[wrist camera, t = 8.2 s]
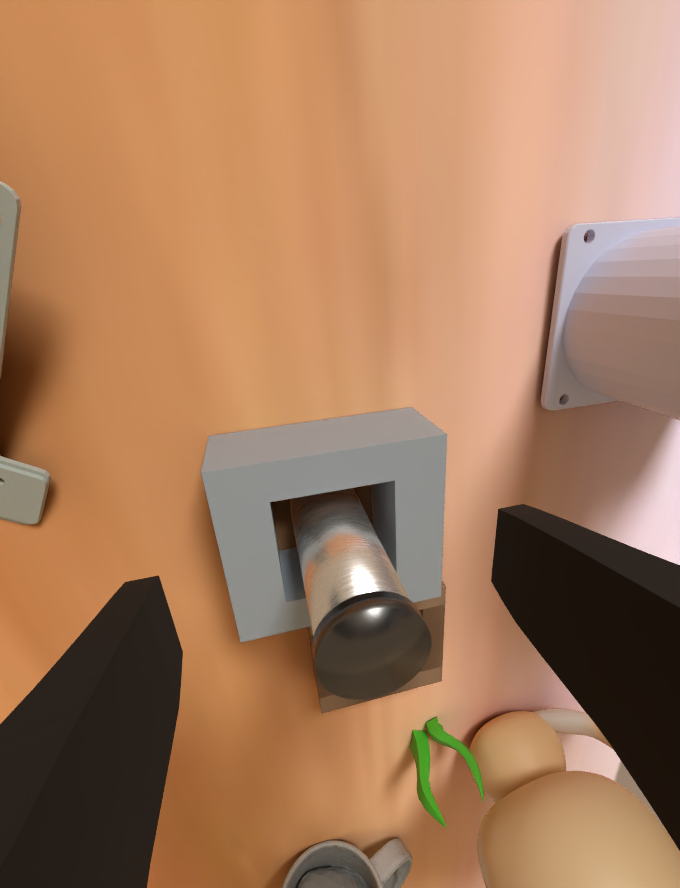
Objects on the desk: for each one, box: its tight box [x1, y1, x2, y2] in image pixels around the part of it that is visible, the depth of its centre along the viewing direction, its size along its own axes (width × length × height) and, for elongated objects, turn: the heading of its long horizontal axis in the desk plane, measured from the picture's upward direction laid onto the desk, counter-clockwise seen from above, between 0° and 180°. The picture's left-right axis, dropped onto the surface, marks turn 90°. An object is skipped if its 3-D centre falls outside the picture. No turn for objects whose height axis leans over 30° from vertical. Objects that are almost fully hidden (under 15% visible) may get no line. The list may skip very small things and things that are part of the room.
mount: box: [308, 581, 446, 713], centre depth 22 cm, size 7×7×2 cm
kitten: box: [410, 708, 680, 888], centre depth 23 cm, size 15×10×15 cm, turn 79°
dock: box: [201, 407, 447, 642], centre depth 18 cm, size 9×8×4 cm
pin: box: [290, 488, 432, 700], centre depth 15 cm, size 3×3×9 cm
